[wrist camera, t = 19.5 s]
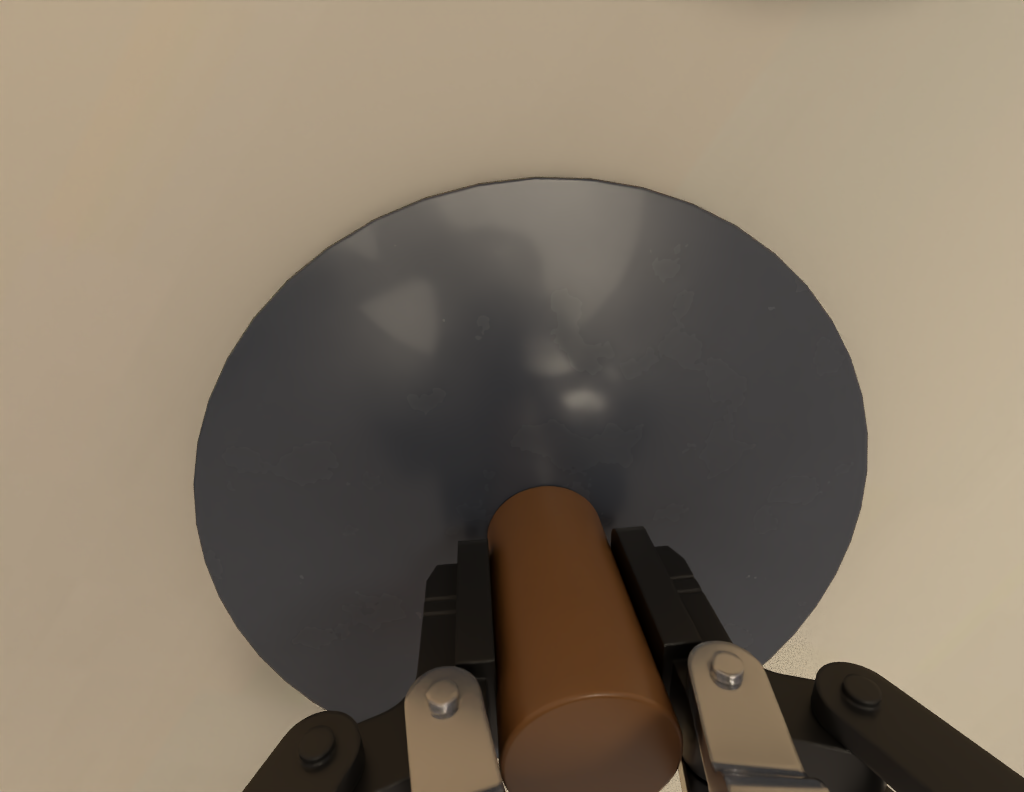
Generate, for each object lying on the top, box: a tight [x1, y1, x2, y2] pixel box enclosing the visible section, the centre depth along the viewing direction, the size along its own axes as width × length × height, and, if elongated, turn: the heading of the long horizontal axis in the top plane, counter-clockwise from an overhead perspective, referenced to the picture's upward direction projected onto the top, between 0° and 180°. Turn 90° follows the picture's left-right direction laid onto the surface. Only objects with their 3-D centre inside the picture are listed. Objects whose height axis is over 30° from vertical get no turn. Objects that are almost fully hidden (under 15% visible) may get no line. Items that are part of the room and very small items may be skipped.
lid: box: [194, 177, 868, 792], centre depth 12 cm, size 17×17×7 cm
